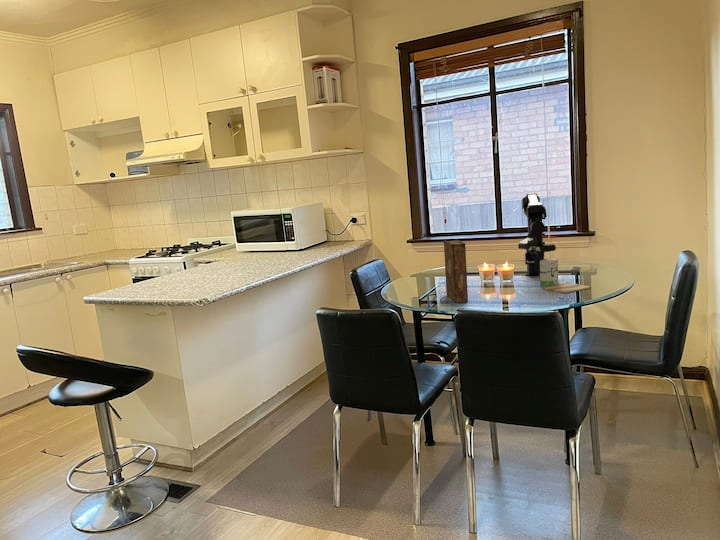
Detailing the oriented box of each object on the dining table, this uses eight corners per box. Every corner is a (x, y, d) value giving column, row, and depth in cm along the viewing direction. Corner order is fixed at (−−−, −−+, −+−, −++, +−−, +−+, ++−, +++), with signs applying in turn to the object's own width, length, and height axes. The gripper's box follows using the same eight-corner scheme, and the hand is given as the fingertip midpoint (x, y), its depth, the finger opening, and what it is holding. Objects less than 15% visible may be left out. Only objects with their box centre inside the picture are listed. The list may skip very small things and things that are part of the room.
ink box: (550, 287, 241) (549, 261, 239) (539, 286, 245) (539, 260, 242) (558, 283, 247) (558, 258, 245) (548, 282, 250) (548, 257, 248)
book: (468, 302, 227) (466, 243, 222) (456, 303, 226) (453, 244, 222) (458, 294, 243) (455, 239, 238) (446, 295, 242) (443, 240, 238)
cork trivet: (542, 288, 239) (542, 287, 239) (567, 283, 245) (567, 282, 245) (564, 293, 228) (564, 292, 227) (590, 288, 234) (590, 286, 233)
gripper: (508, 232, 253) (509, 264, 256) (537, 234, 237) (537, 269, 239) (527, 229, 258) (528, 261, 261) (556, 232, 241) (556, 266, 244)
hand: (536, 264), depth 251 cm, fingers closed
